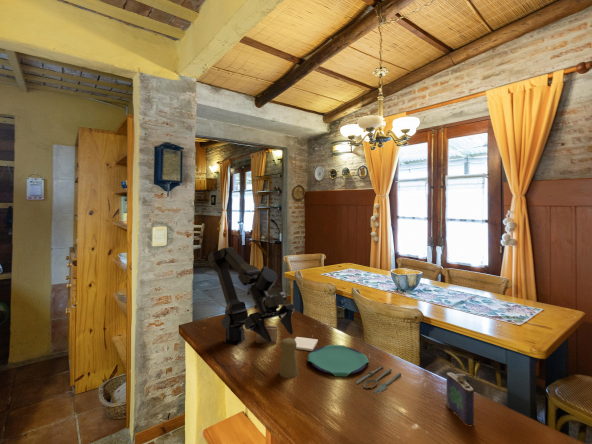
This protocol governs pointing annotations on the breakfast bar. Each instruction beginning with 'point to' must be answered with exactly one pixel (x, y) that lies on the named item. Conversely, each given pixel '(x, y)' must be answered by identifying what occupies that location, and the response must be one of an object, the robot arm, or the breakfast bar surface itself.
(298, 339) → the plate
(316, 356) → the cutlery set
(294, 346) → the cork
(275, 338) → the napkin holder
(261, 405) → the breakfast bar surface
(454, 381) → the flask
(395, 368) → the breakfast bar surface
